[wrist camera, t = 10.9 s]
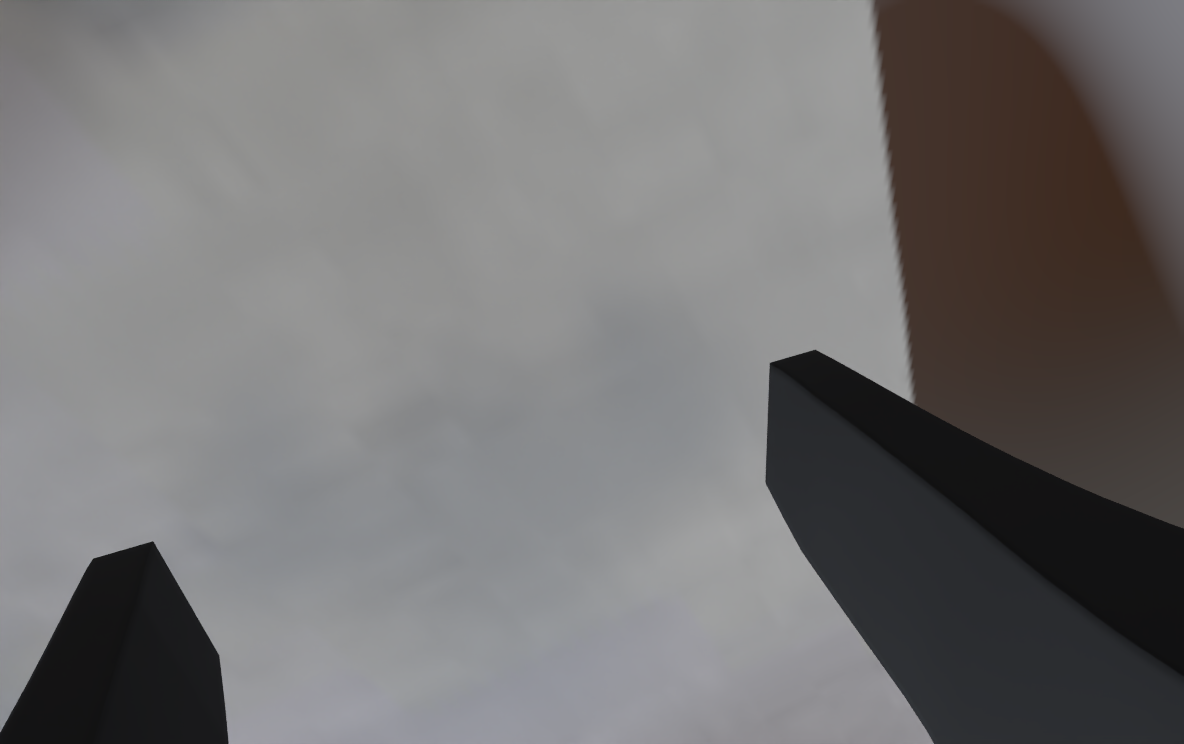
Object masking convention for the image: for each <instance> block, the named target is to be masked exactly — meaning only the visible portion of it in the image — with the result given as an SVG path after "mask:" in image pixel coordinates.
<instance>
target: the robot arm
mask: <svg viewBox="0 0 1184 744" xmlns="http://www.w3.org/2000/svg"><path fill="white" fill-rule="evenodd" d="M766 485H767V487H768V488H769V490H770V492H771V494H772V496H773V498H774V500H775V502H776V504H777V506H778V508H779V510H780V512H781V514H782V516H783V518H784V520H785V522H786V523H787V525H788V527H789V529H790V531H791V532H792V534H793V536H794V538H795V540H796V542H797V543H798V545H799V547H800V549H801V551H802V552H803V554H804V555H805V557H806V558H807V560H808V561H809V562H810V564H811V565H812V567H813V568H814V570H815V571H816V573H817V574H818V575H819V577H820V578H821V580H822V581H823V583H824V584H825V585H826V587H827V588H828V590H829V591H830V593H831V594H832V595H833V597H834V598H835V600H836V601H837V603H838V604H839V605H840V607H841V608H842V610H843V611H844V612H845V614H846V615H847V617H848V618H849V619H850V621H851V622H852V624H853V625H854V626H855V628H856V629H857V631H858V632H859V633H860V635H861V636H862V638H863V639H864V640H865V642H866V643H867V645H868V646H869V647H870V649H871V650H872V652H873V653H874V654H875V656H876V657H877V659H878V660H879V661H880V663H881V664H882V666H883V667H884V668H885V670H886V671H887V673H888V674H889V675H890V677H891V678H892V680H893V681H894V682H895V684H896V685H897V687H898V688H899V689H900V691H901V692H902V694H903V695H904V696H905V698H906V699H907V701H908V703H909V704H910V706H911V707H912V709H913V710H914V712H915V713H916V715H917V716H918V718H919V719H920V721H921V722H922V724H923V726H924V727H925V729H926V730H927V732H928V734H929V735H930V737H931V739H932V741H933V742H934V744H1184V529H1183V528H1180V527H1178V526H1175V525H1172V524H1169V523H1167V522H1164V521H1162V520H1159V519H1156V518H1154V517H1151V516H1149V515H1146V514H1143V513H1141V512H1139V511H1136V510H1134V509H1131V508H1129V507H1126V506H1124V505H1121V504H1119V503H1116V502H1113V501H1111V500H1108V499H1106V498H1103V497H1101V496H1098V495H1096V494H1094V493H1092V492H1089V491H1087V490H1085V489H1082V488H1080V487H1078V486H1075V485H1073V484H1071V483H1069V482H1066V481H1064V480H1062V479H1060V478H1058V477H1056V476H1054V475H1052V474H1049V473H1047V472H1045V471H1043V470H1041V469H1039V468H1037V467H1034V466H1032V465H1030V464H1028V463H1026V462H1024V461H1022V460H1019V459H1017V458H1015V457H1013V456H1011V455H1009V454H1007V453H1005V452H1003V451H1001V450H999V449H997V448H995V447H993V446H991V445H989V444H987V443H985V442H983V441H981V440H979V439H978V438H976V437H974V436H972V435H970V434H968V433H966V432H964V431H962V430H960V429H958V428H957V427H955V426H953V425H951V424H949V423H947V422H945V421H943V420H941V419H940V418H938V417H936V416H934V415H932V414H930V413H929V412H927V411H925V410H923V409H921V408H920V407H918V406H916V405H914V404H912V403H911V402H909V401H907V400H905V399H903V398H902V397H900V396H898V395H896V394H895V393H893V392H891V391H889V390H887V389H886V388H884V387H882V386H880V385H878V384H877V383H875V382H873V381H871V380H870V379H868V378H866V377H864V376H863V375H861V374H859V373H857V372H855V371H854V370H852V369H850V368H848V367H846V366H845V365H843V364H841V363H839V362H837V361H836V360H834V359H832V358H830V357H828V356H826V355H824V354H822V353H820V352H819V351H817V350H813V351H809V352H806V353H803V354H799V355H796V356H792V357H789V358H785V359H782V360H778V361H775V362H771V363H770V373H769V401H768V429H767V456H766ZM0 744H228V733H227V722H226V711H225V701H224V693H223V684H222V676H221V667H220V659H219V654H218V653H217V651H216V649H215V648H214V646H213V644H212V642H211V641H210V639H209V637H208V635H207V634H206V632H205V630H204V629H203V627H202V625H201V623H200V622H199V620H198V618H197V616H196V615H195V613H194V611H193V609H192V608H191V606H190V604H189V603H188V601H187V599H186V597H185V596H184V594H183V592H182V590H181V589H180V587H179V585H178V583H177V582H176V580H175V578H174V577H173V575H172V573H171V571H170V570H169V568H168V566H167V564H166V563H165V561H164V559H163V558H162V556H161V554H160V552H159V551H158V549H157V547H156V545H155V544H154V542H149V543H146V544H142V545H139V546H136V547H132V548H129V549H125V550H122V551H118V552H115V553H111V554H108V555H104V556H101V557H97V558H94V559H93V560H92V562H91V563H90V565H89V566H88V568H87V569H86V571H85V573H84V575H83V577H82V579H81V581H80V583H79V585H78V587H77V588H76V590H75V592H74V594H73V596H72V598H71V600H70V602H69V604H68V606H67V608H66V610H65V612H64V614H63V616H62V618H61V620H60V622H59V624H58V626H57V628H56V630H55V632H54V633H53V635H52V637H51V639H50V641H49V643H48V645H47V647H46V649H45V651H44V653H43V655H42V657H41V659H40V660H39V662H38V664H37V666H36V668H35V670H34V672H33V674H32V676H31V678H30V680H29V681H28V683H27V685H26V687H25V689H24V691H23V692H22V694H21V696H20V698H19V700H18V702H17V703H16V705H15V707H14V709H13V711H12V712H11V714H10V716H9V718H8V720H7V721H6V723H5V725H4V727H3V729H2V731H1V732H0Z"/></svg>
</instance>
